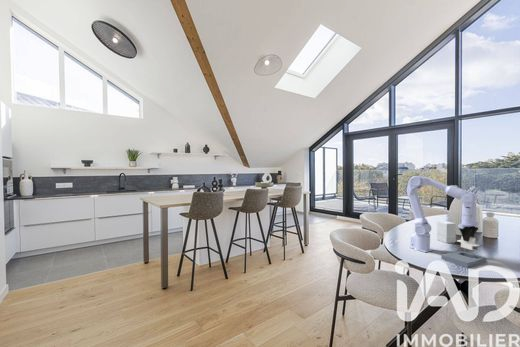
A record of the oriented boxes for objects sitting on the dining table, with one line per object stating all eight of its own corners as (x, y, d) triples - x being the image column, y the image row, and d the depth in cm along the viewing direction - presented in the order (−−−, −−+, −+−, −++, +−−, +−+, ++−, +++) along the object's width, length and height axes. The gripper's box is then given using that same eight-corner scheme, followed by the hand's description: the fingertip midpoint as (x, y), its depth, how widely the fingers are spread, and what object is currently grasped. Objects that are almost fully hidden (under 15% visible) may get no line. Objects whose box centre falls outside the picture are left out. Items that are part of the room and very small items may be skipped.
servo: (456, 245, 136) (456, 234, 135) (459, 245, 137) (460, 233, 137) (476, 251, 127) (476, 239, 127) (479, 250, 129) (480, 238, 128)
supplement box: (456, 242, 161) (456, 223, 160) (446, 243, 160) (446, 223, 159) (445, 239, 168) (446, 220, 168) (436, 239, 167) (436, 221, 167)
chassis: (441, 259, 133) (441, 254, 133) (460, 254, 140) (460, 250, 140) (467, 267, 122) (467, 263, 122) (486, 262, 129) (486, 257, 129)
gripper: (469, 217, 125) (468, 244, 125) (485, 215, 131) (484, 240, 131) (454, 215, 131) (453, 240, 132) (469, 212, 137) (469, 237, 138)
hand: (468, 240), depth 132 cm, fingers closed on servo, 3 cm apart
